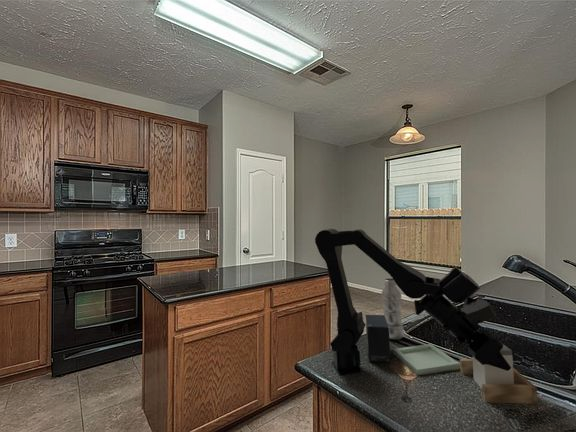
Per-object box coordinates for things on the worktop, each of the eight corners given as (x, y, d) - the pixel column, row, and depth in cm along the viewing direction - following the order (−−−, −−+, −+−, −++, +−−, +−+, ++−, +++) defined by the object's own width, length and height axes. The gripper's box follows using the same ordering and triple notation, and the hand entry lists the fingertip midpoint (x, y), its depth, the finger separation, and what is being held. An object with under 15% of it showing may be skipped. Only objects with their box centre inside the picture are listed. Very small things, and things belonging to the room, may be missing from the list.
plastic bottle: (398, 344, 96) (395, 282, 96) (379, 338, 101) (376, 280, 101) (407, 337, 101) (404, 278, 101) (389, 332, 106) (386, 276, 106)
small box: (392, 363, 85) (389, 326, 85) (368, 362, 86) (366, 326, 86) (387, 346, 95) (385, 314, 95) (366, 346, 96) (364, 314, 96)
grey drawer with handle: (486, 393, 69) (483, 348, 69) (473, 379, 75) (471, 337, 75) (514, 394, 68) (511, 348, 68) (499, 379, 74) (497, 337, 74)
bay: (485, 402, 66) (484, 386, 66) (460, 372, 78) (459, 358, 78) (537, 403, 64) (536, 387, 64) (504, 372, 77) (503, 359, 77)
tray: (417, 375, 78) (417, 369, 78) (393, 354, 90) (393, 349, 90) (459, 368, 80) (459, 363, 80) (430, 348, 92) (430, 343, 92)
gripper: (490, 301, 62) (551, 354, 61) (453, 281, 81) (500, 320, 79) (452, 338, 64) (512, 391, 62) (425, 310, 82) (470, 350, 81)
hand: (497, 359), depth 71 cm, fingers open, 9 cm apart
